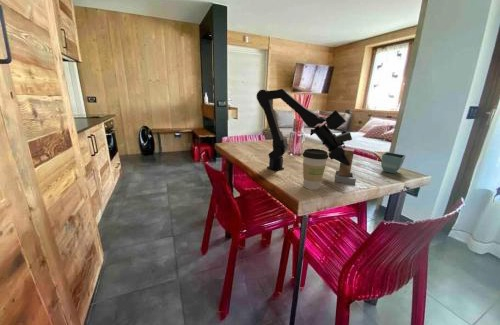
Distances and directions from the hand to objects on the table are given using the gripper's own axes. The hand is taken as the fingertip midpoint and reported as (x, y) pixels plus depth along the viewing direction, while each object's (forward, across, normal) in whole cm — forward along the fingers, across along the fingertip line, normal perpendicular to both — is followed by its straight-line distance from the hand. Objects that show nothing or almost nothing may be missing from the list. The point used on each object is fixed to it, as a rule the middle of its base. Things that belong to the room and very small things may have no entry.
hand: (349, 163), depth 96 cm
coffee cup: (-4, -16, +15) cm, 22 cm away
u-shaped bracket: (+4, 0, +6) cm, 8 cm away
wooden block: (+4, 0, +6) cm, 7 cm away
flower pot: (+20, +24, -9) cm, 33 cm away
